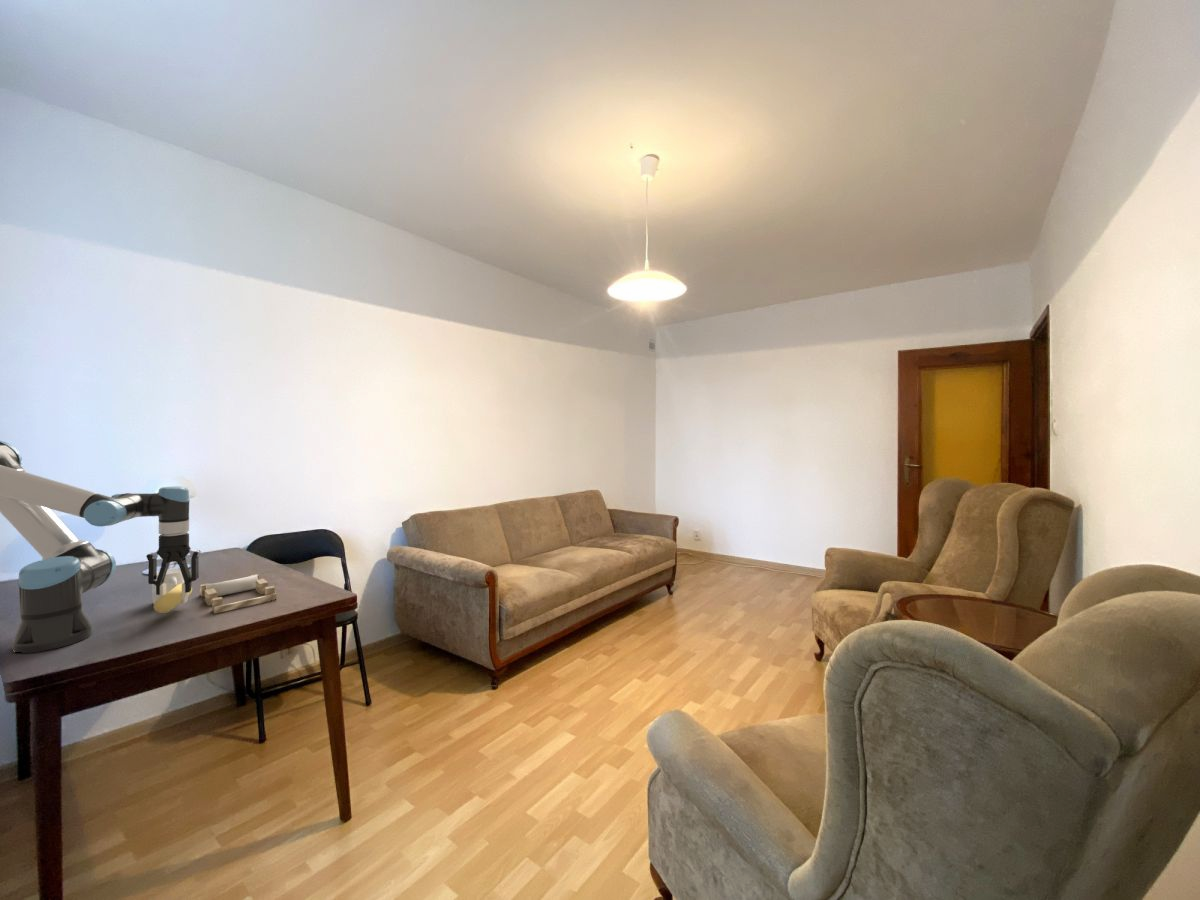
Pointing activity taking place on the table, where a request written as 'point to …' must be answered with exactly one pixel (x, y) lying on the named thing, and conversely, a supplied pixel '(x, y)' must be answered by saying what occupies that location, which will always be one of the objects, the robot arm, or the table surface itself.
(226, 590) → the white cylinder
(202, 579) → the table surface
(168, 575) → the mug
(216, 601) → the wooden rack
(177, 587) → the yellow cylinder
